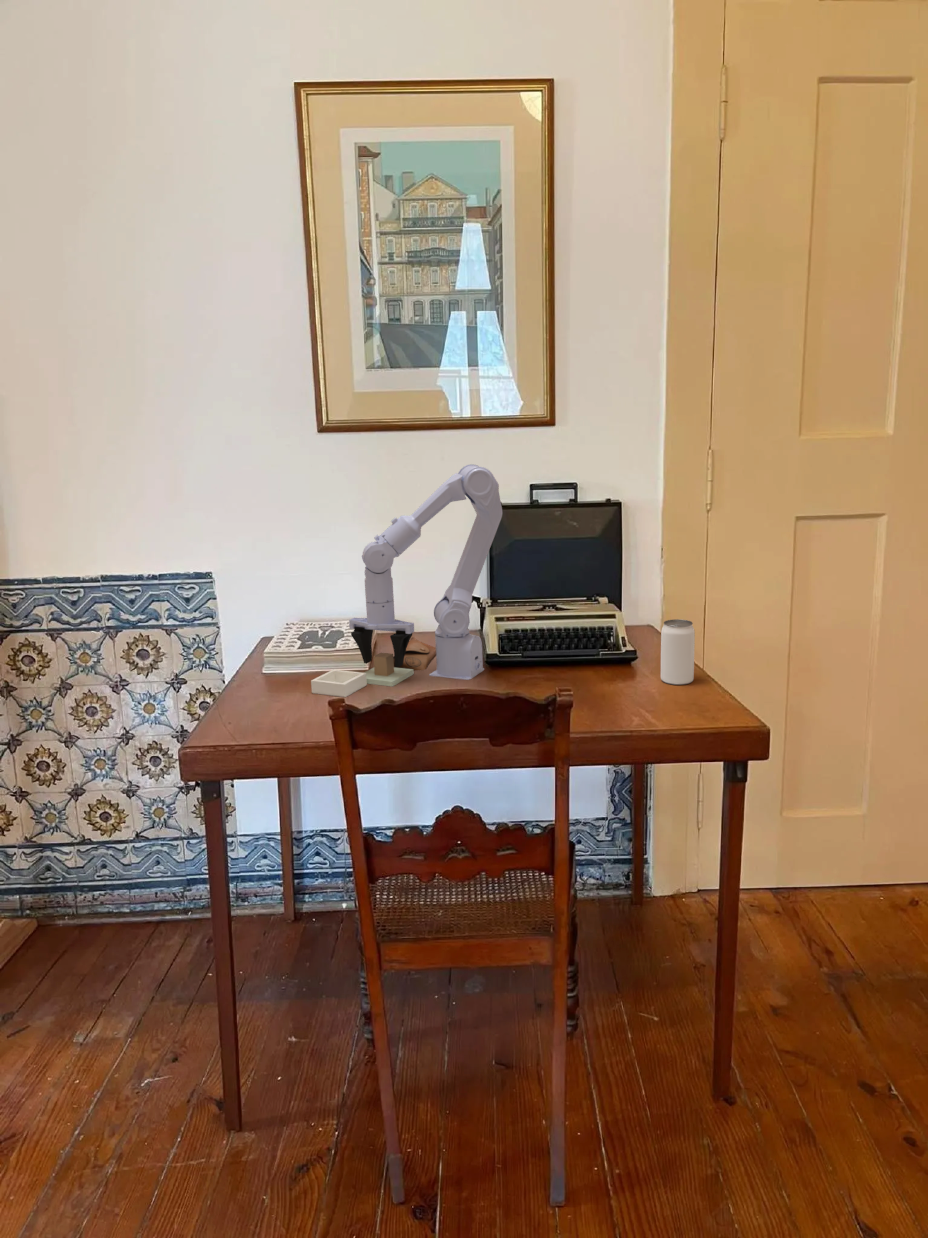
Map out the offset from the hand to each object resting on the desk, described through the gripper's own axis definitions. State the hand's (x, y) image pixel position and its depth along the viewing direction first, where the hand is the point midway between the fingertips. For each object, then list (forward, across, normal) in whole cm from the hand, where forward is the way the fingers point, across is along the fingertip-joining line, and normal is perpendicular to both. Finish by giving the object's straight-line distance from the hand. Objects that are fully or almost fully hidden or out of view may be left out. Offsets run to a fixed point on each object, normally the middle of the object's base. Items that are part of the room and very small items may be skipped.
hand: (383, 663), depth 183 cm
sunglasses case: (+4, 0, +15) cm, 15 cm away
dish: (+3, -5, -9) cm, 11 cm away
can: (+3, +57, +19) cm, 60 cm away
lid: (+3, 0, 0) cm, 3 cm away
